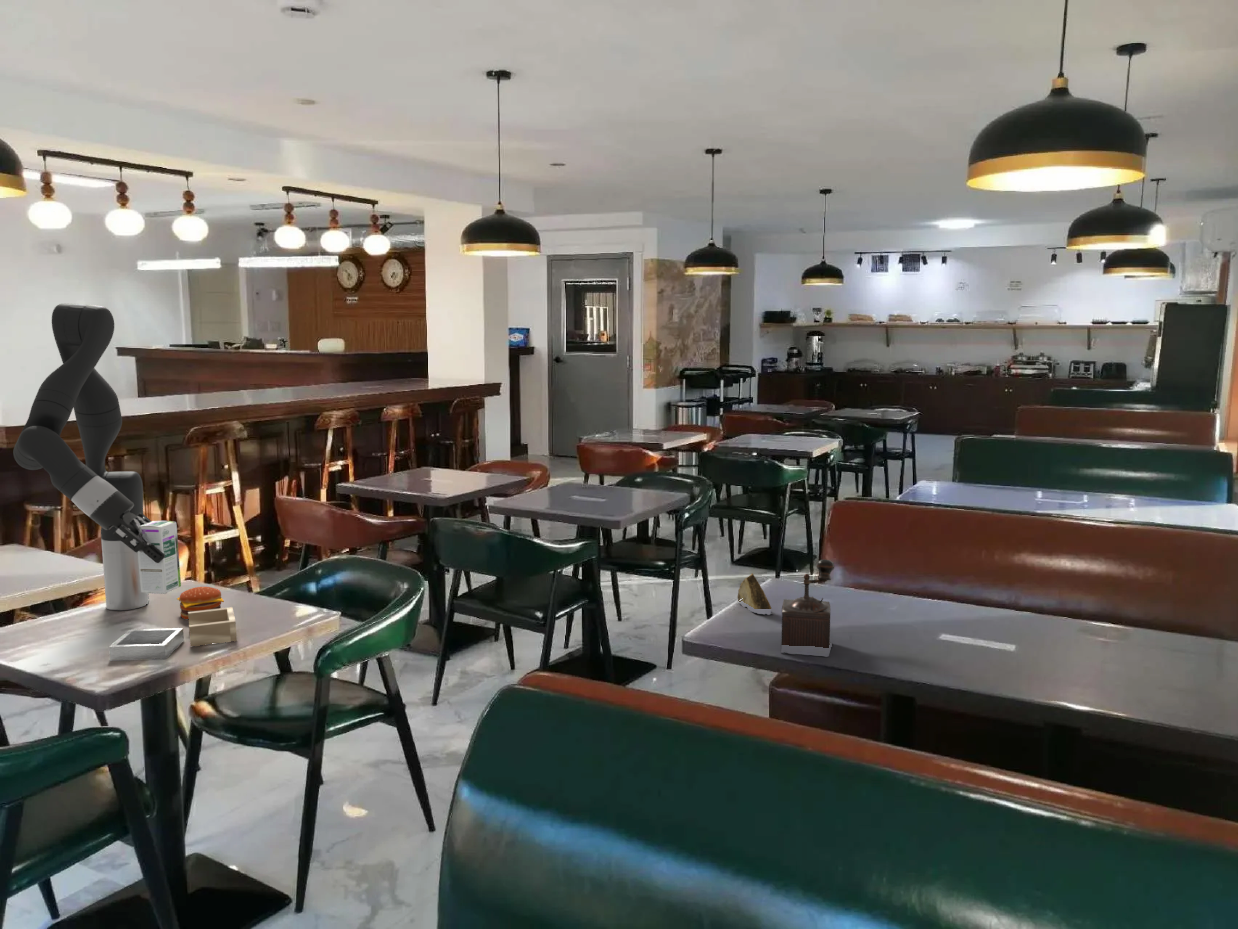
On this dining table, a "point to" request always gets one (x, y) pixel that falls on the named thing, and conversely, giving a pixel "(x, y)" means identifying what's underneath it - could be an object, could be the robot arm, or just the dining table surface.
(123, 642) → the gray rectangular tray
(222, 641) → the cradle
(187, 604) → the hamburger
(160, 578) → the syrup box
